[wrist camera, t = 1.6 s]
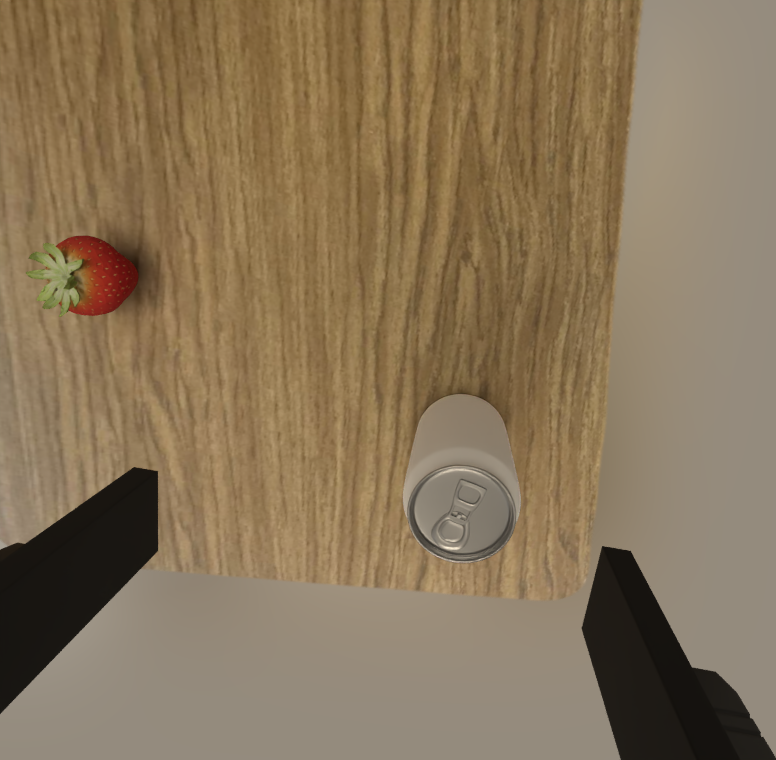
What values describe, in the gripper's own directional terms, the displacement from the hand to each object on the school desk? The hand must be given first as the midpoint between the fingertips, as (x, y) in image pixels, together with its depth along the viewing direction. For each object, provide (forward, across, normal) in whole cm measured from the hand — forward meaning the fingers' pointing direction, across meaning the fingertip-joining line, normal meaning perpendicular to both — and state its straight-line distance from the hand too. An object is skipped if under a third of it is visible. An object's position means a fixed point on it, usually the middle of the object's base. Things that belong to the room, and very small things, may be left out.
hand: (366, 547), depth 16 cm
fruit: (+24, -22, +4) cm, 33 cm away
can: (+24, +3, -5) cm, 25 cm away
